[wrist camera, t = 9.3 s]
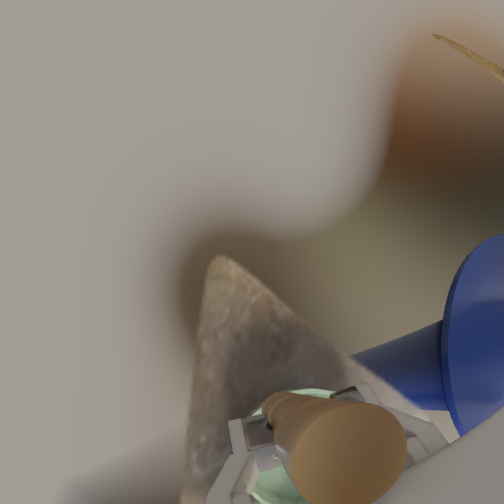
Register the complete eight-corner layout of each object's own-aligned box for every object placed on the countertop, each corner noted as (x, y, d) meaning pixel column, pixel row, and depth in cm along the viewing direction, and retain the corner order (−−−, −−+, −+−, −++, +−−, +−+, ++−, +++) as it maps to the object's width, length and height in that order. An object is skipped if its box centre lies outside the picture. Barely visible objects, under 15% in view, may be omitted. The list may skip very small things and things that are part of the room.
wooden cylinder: (300, 389, 18) (405, 391, 6) (303, 427, 17) (409, 494, 5) (260, 393, 18) (287, 412, 5) (262, 431, 17) (293, 522, 4)
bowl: (355, 380, 31) (369, 379, 27) (361, 486, 26) (376, 498, 21) (233, 393, 30) (231, 395, 26) (242, 504, 25) (241, 519, 21)
